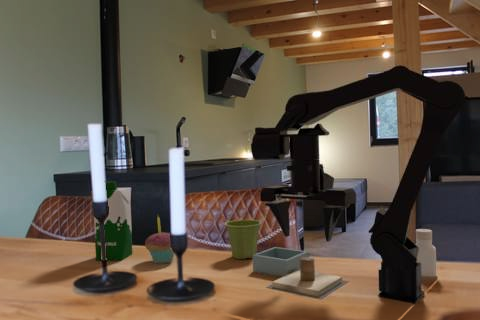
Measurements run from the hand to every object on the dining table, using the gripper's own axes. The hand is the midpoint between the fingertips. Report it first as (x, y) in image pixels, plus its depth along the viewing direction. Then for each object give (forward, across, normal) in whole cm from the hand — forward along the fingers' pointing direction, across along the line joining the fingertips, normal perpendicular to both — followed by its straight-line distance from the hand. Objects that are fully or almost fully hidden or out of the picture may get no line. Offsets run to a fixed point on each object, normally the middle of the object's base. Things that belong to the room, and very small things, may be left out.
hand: (307, 238), depth 86 cm
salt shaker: (+10, -17, -19) cm, 27 cm away
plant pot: (+10, +25, -12) cm, 29 cm away
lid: (+9, 0, 0) cm, 9 cm away
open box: (+10, +10, -6) cm, 15 cm away
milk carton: (+9, +54, +6) cm, 55 cm away
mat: (+10, 0, 0) cm, 10 cm away
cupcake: (+10, +40, +2) cm, 41 cm away
